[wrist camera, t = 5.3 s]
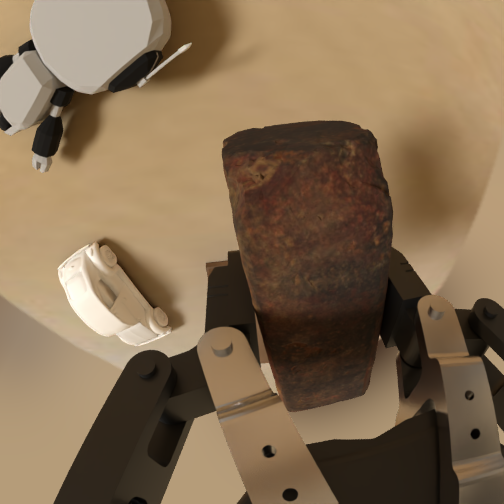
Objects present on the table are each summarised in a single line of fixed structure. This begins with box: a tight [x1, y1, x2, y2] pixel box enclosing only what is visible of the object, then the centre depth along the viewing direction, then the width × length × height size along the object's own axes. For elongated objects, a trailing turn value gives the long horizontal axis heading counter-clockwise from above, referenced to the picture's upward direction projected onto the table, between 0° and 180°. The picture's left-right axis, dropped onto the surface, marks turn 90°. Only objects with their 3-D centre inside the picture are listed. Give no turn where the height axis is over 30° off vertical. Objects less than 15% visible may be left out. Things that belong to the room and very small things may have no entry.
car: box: [58, 240, 172, 346], centre depth 24 cm, size 12×6×5 cm, turn 28°
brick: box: [222, 121, 393, 412], centre depth 10 cm, size 11×4×5 cm, turn 11°
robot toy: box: [0, 0, 192, 173], centre depth 13 cm, size 12×4×15 cm
